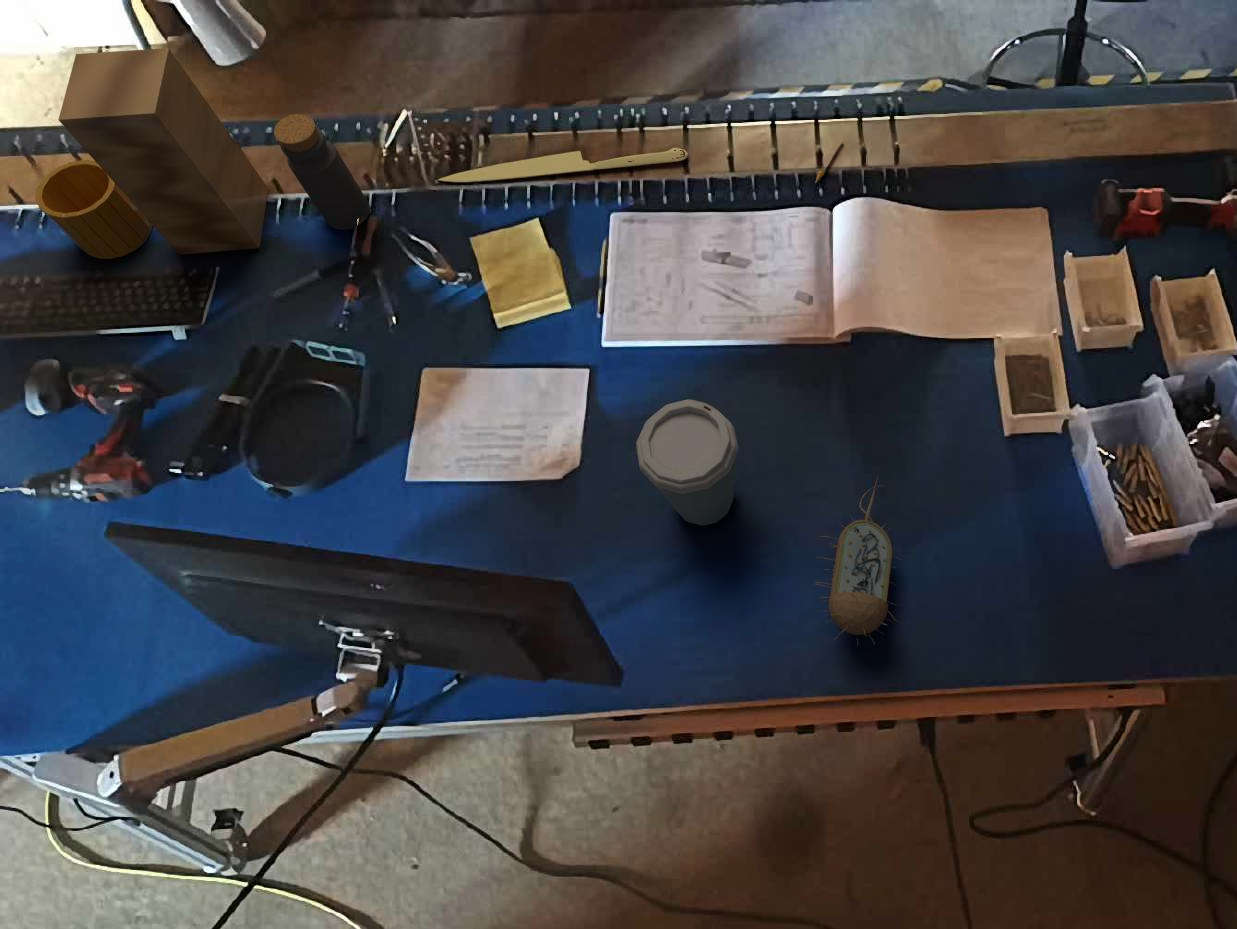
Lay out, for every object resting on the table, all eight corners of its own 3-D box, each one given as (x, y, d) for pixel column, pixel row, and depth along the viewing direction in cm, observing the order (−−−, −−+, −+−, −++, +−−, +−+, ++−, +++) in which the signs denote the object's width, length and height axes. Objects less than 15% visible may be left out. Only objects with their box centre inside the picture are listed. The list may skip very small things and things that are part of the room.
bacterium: (893, 499, 126) (939, 470, 118) (873, 663, 118) (920, 644, 110) (815, 470, 122) (856, 438, 114) (788, 639, 113) (830, 617, 105)
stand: (178, 254, 136) (57, 119, 115) (190, 194, 140) (75, 53, 119) (259, 248, 137) (154, 113, 116) (268, 188, 141) (168, 47, 120)
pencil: (843, 142, 147) (843, 138, 147) (817, 186, 144) (817, 182, 143) (838, 140, 147) (838, 137, 147) (812, 184, 144) (812, 180, 143)
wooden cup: (63, 237, 136) (19, 195, 129) (120, 193, 140) (81, 149, 133) (110, 270, 135) (68, 228, 127) (167, 224, 138) (130, 181, 131)
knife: (436, 162, 143) (434, 185, 141) (685, 134, 146) (687, 155, 144) (439, 170, 144) (438, 192, 142) (686, 141, 147) (689, 163, 145)
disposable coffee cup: (713, 558, 120) (696, 502, 107) (637, 513, 122) (610, 451, 109) (766, 487, 124) (756, 424, 111) (691, 444, 126) (672, 377, 113)
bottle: (315, 219, 139) (257, 135, 125) (345, 189, 141) (291, 103, 128) (350, 237, 138) (296, 153, 124) (380, 206, 140) (330, 121, 127)
